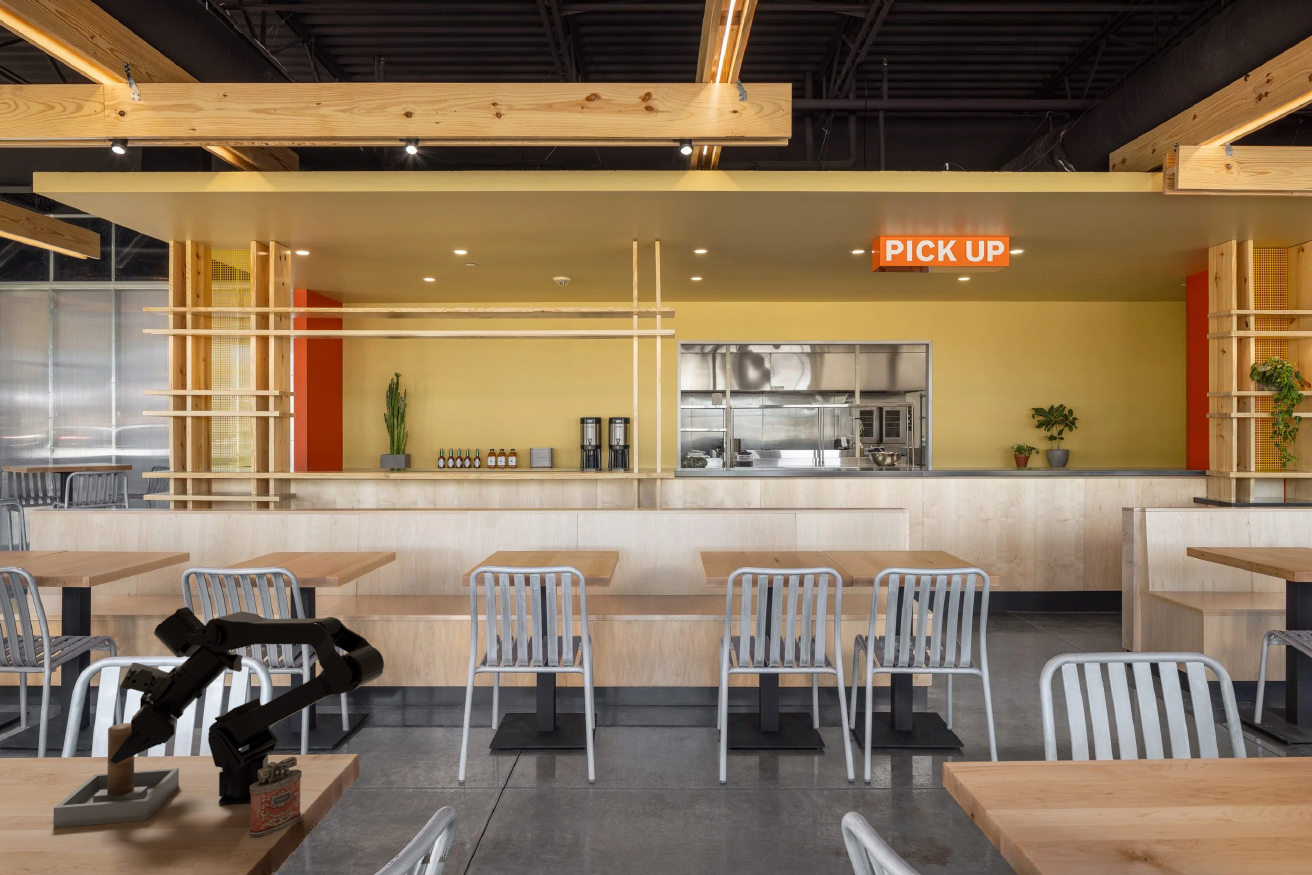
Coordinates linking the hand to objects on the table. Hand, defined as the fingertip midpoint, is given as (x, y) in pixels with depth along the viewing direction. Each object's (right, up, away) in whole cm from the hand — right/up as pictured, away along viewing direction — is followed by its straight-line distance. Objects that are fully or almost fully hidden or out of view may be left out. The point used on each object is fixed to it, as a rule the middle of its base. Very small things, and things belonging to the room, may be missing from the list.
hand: (116, 751), depth 130 cm
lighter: (+29, -9, -7) cm, 32 cm away
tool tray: (0, -9, 0) cm, 9 cm away
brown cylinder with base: (0, -8, 0) cm, 8 cm away
